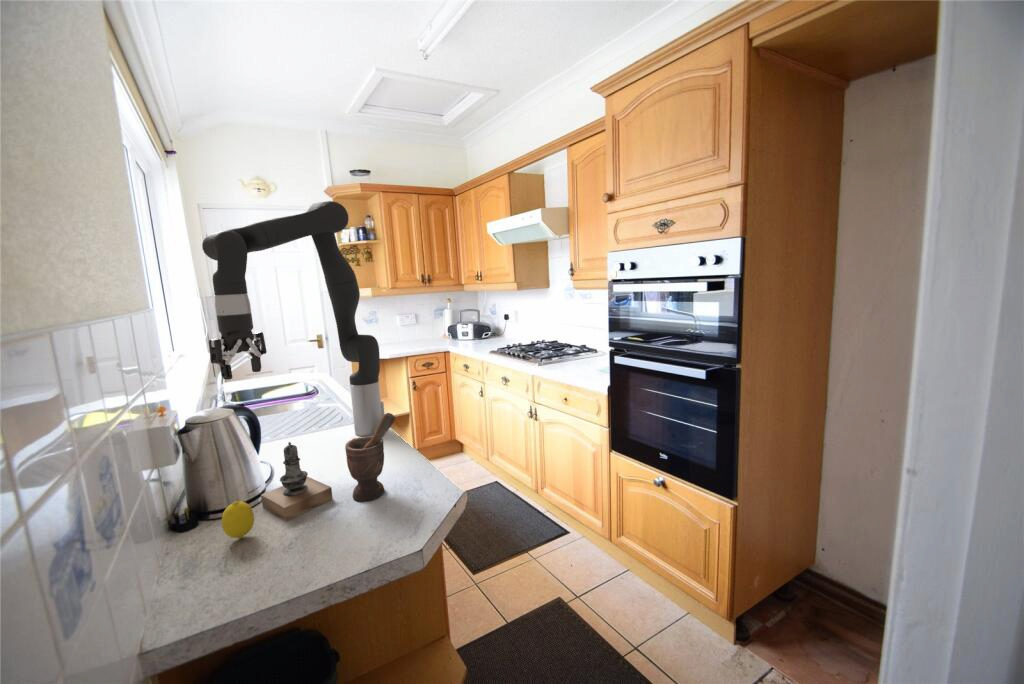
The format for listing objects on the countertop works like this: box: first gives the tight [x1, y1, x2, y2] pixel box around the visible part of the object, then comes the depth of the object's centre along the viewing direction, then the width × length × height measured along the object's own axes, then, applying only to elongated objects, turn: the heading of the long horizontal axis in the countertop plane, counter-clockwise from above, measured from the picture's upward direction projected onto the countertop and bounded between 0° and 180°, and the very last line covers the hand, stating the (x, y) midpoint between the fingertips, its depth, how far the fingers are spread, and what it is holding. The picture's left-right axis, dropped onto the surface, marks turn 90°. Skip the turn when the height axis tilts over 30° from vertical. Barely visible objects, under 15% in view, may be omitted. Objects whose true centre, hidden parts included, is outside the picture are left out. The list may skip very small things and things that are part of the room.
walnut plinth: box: [260, 475, 334, 521], centre depth 103 cm, size 11×11×3 cm
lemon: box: [221, 500, 255, 539], centre depth 89 cm, size 6×6×8 cm
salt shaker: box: [279, 441, 308, 496], centre depth 102 cm, size 6×6×12 cm
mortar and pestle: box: [344, 412, 396, 502], centre depth 105 cm, size 12×9×20 cm
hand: (242, 375), depth 113 cm, fingers open, 8 cm apart
